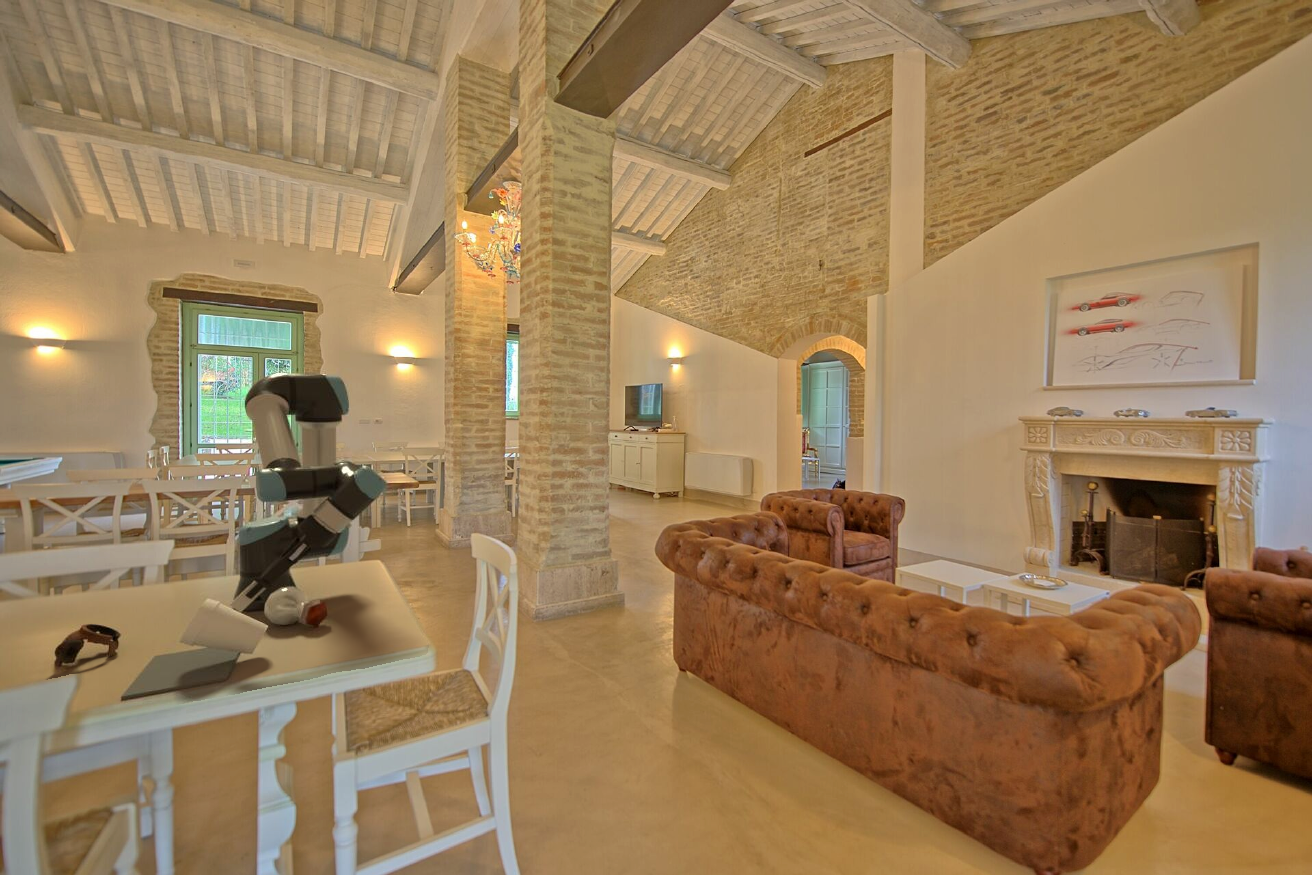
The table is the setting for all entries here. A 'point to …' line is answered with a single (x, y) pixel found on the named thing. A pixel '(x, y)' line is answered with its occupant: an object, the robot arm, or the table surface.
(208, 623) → the foam cup
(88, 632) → the brown curved ring piece
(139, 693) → the mat
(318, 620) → the potion bottle
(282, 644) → the table surface
